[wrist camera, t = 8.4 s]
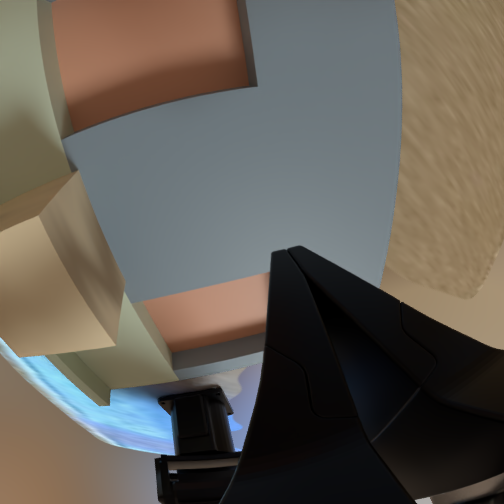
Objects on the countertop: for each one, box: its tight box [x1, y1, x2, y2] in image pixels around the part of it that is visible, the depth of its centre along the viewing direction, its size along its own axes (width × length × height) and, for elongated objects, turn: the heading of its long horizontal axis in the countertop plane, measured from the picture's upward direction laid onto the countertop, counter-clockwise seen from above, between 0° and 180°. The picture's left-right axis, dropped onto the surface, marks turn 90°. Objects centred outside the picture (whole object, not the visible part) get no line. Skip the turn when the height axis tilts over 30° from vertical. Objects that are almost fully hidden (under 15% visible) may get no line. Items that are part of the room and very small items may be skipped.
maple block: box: [0, 170, 126, 357], centre depth 9 cm, size 6×6×4 cm
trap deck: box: [0, 0, 402, 406], centre depth 12 cm, size 26×22×4 cm
